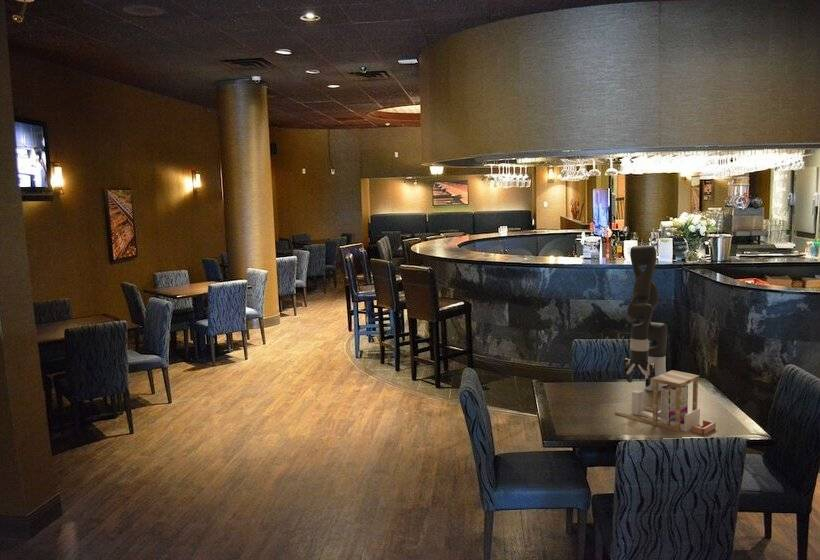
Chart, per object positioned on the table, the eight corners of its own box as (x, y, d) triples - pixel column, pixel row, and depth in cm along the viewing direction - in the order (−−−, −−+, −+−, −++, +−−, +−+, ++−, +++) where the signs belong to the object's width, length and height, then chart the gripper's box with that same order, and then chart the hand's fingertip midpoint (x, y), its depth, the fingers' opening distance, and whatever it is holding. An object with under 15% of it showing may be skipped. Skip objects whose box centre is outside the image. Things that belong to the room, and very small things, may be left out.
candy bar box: (678, 418, 291) (679, 381, 289) (687, 421, 287) (688, 384, 284) (659, 423, 286) (660, 386, 284) (669, 427, 282) (669, 389, 279)
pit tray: (703, 426, 282) (703, 419, 281) (715, 429, 278) (715, 422, 278) (691, 433, 276) (691, 425, 275) (703, 436, 272) (703, 429, 271)
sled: (641, 409, 304) (641, 387, 303) (699, 424, 284) (700, 401, 282) (627, 415, 297) (627, 393, 296) (686, 431, 277) (686, 408, 275)
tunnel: (634, 405, 310) (635, 362, 307) (697, 422, 287) (699, 375, 284) (614, 414, 299) (614, 369, 296) (678, 432, 277) (679, 384, 274)
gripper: (659, 349, 292) (658, 385, 294) (629, 344, 303) (629, 379, 305) (649, 352, 287) (648, 389, 289) (620, 347, 298) (619, 382, 300)
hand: (638, 384), depth 297 cm, fingers open, 8 cm apart
